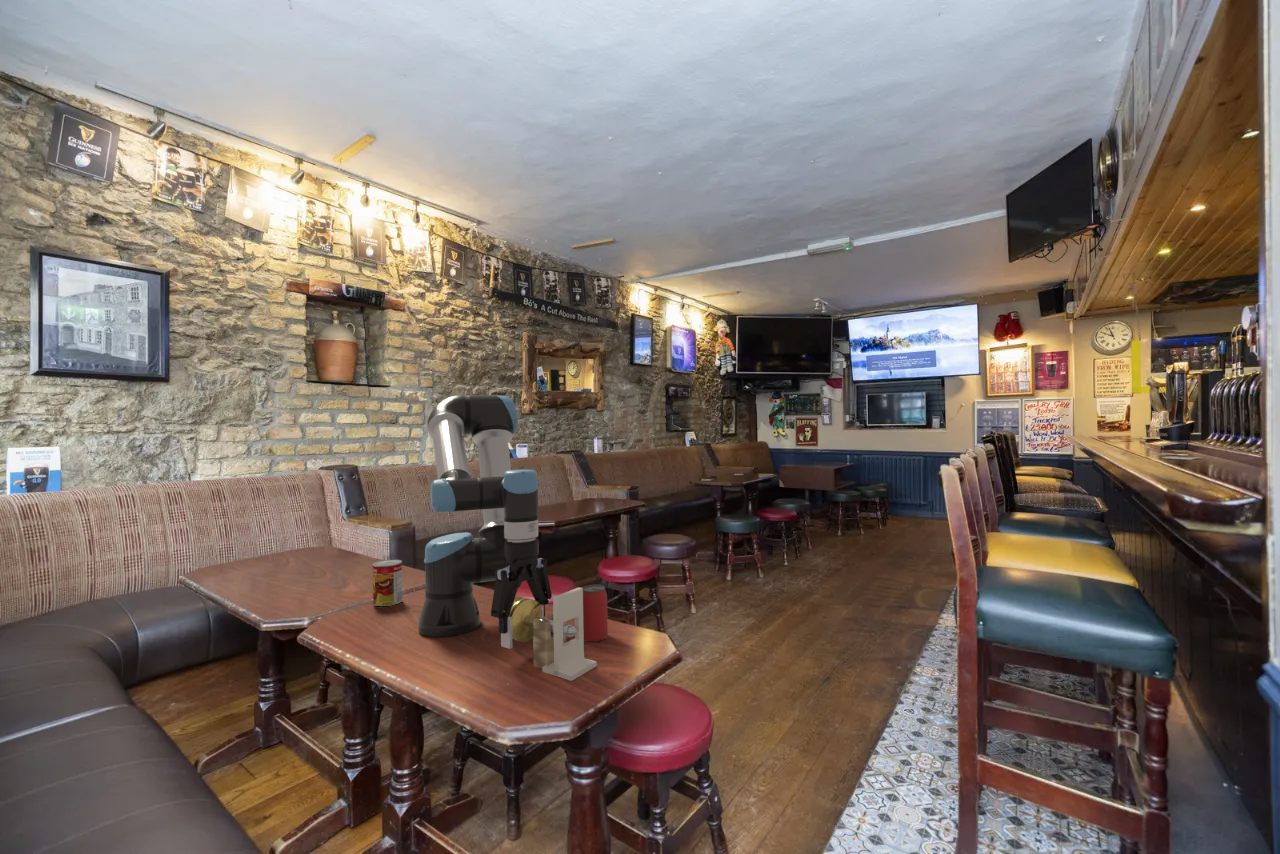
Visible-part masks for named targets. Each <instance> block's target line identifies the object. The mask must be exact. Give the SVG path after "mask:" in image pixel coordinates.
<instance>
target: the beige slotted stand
mask: <svg viewBox="0 0 1280 854" xmlns="http://www.w3.org/2000/svg"><path fill="white" fill-rule="evenodd" d="M552 606H553V607H552V608H553V609H552V610H553V611H552V613H553V624H554V662H553V663H551V664H549V665H548V666H547V665H545V666H543V667H542V669H541V671H542V673H545V674H548V675H552V676H555V677H558V678H561V679H564V680H568V681H569V682H570V681H573V680H575V679H577V678H579V677H580V676H582V675H584V674H586V673H587V672H590V670H591V671H592V670H593V669H594V668H596V667H597V661H596V660H592V659H590V658H585V645H584V641H585V640H584V631H583V587H579V586H578V587H576V588H574V589H573V588H572V589H571V590H569V591H564V592H563V593H560V594H557V595H555V596H552ZM572 619H574V627H575V628H576V633H575V635H574V638H573V639H570V640H568V641H566V643H564V644H563V623H564V622H565V623H566V622H568V621H570V620H572Z"/></svg>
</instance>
